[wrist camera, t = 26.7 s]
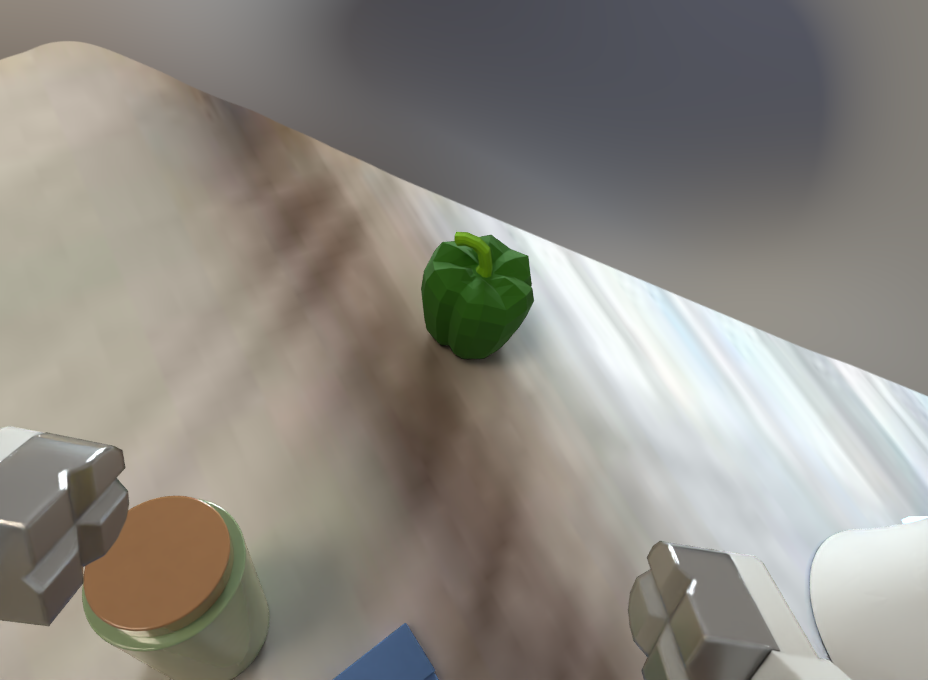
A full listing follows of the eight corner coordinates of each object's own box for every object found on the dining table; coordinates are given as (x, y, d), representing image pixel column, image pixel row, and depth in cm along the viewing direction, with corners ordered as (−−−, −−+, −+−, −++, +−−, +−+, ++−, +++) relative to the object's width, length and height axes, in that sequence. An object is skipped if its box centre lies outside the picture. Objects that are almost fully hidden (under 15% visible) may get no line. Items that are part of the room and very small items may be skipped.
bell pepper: (530, 333, 46) (571, 246, 38) (478, 392, 41) (512, 306, 33) (453, 282, 48) (477, 189, 40) (394, 332, 43) (409, 238, 35)
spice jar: (290, 625, 29) (272, 557, 19) (197, 716, 26) (122, 685, 16) (230, 553, 30) (187, 458, 21) (136, 629, 27) (37, 558, 18)
